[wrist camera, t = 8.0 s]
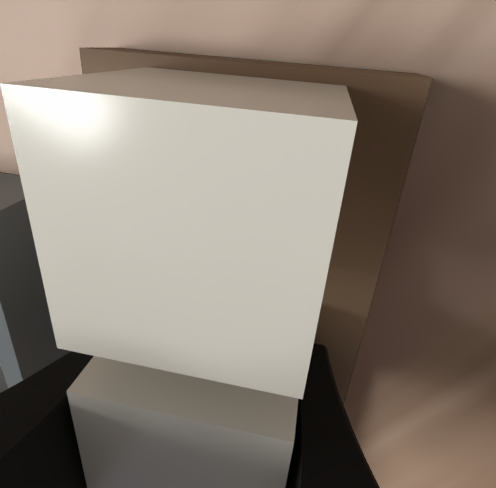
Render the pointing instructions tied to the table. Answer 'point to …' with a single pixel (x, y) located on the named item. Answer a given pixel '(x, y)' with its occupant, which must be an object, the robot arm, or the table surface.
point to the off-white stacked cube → (178, 430)
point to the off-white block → (185, 216)
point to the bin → (21, 292)
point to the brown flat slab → (357, 182)
